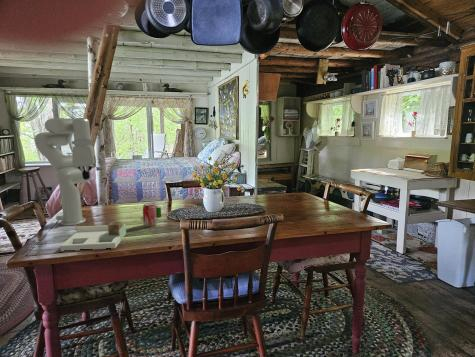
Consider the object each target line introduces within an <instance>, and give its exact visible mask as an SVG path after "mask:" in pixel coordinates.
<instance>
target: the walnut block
mask: <svg viewBox="0 0 475 357" xmlns="http://www.w3.org/2000/svg"><path fill="white" fill-rule="evenodd" d="M122 222H123V221H111V222H110V223H109V224H107V225H108V231H109V235H119V233H118V231H119V230H120V229H121V227H122V224H123V223H122Z"/></svg>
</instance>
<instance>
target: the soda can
mask: <svg viewBox="0 0 475 357" xmlns="http://www.w3.org/2000/svg"><path fill="white" fill-rule="evenodd" d="M156 206H157V205H155V202H146V203H144V204H143V206H142V218H143V220H142V221H143V225H144V226H146V227H154V226H156V225H157V223H158V217H157V214H156Z"/></svg>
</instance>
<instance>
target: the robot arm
mask: <svg viewBox="0 0 475 357" xmlns="http://www.w3.org/2000/svg"><path fill="white" fill-rule="evenodd" d="M44 129H45V130H46V131H44V132H39V133H37V134H36V135H35V137H34V142H35V146H36V149H37V150H38V151H39V152H40V154H42V156H44V158H46V160H47V161H48V162H49V164H50V166H51V167H52V168H53V170H54V171H55V172H56V173H55V174H56V179H57V183H58V187H59V192H60V200H61V210H62V215H56V216H55V219H56V221H60V225H61V226H77V225H81V224H83V223H85V222H86V219H87V218H85V217H83V210H82V201H81V200H82V199H81V192H80V189H79V188H78V187H77V186H76V185H75V184H80V183H88V182H90V181H91V179H92V176H93V175H92V171H91V170H92V169H96V168H97V159H96V153H95V148H94V146H93V145H92V137H91V127H90V120H89V119H88V118H67V117H66V118H65V117H64V118H63V117H52V118H49V119H46V121H45V122H44ZM72 137H73V141H71V140H72ZM70 142H71V145H74V146H72V151H71V152H72V155H71V154H69V155H68V154H67V155H65V154H63V152H62V151H61V149H58V147H65V146H67V145H69V144H70Z"/></svg>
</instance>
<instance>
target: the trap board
mask: <svg viewBox="0 0 475 357" xmlns="http://www.w3.org/2000/svg"><path fill="white" fill-rule="evenodd" d="M108 225H109V224H101V225H100V224H99V225H82V226H81V225H80V226H76V232H75V233H74V234H73V235H72V236H70V237H69V238H68V239H67V240H65V241H64V242H63V243H61V245H60V252H65V251H64V250H75V251H81V250H80V249H93V250H104V249H105V250H107V249H106V248H111V249H116V248H117V247H118V245H119V244H120V243H121V241H123V238H124V237H125V235H126V234H127V229H126V224H125V223H124V224H123V223H122V227H121V229H120V230H119V231H118V233H119V235H109V231H108Z"/></svg>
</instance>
